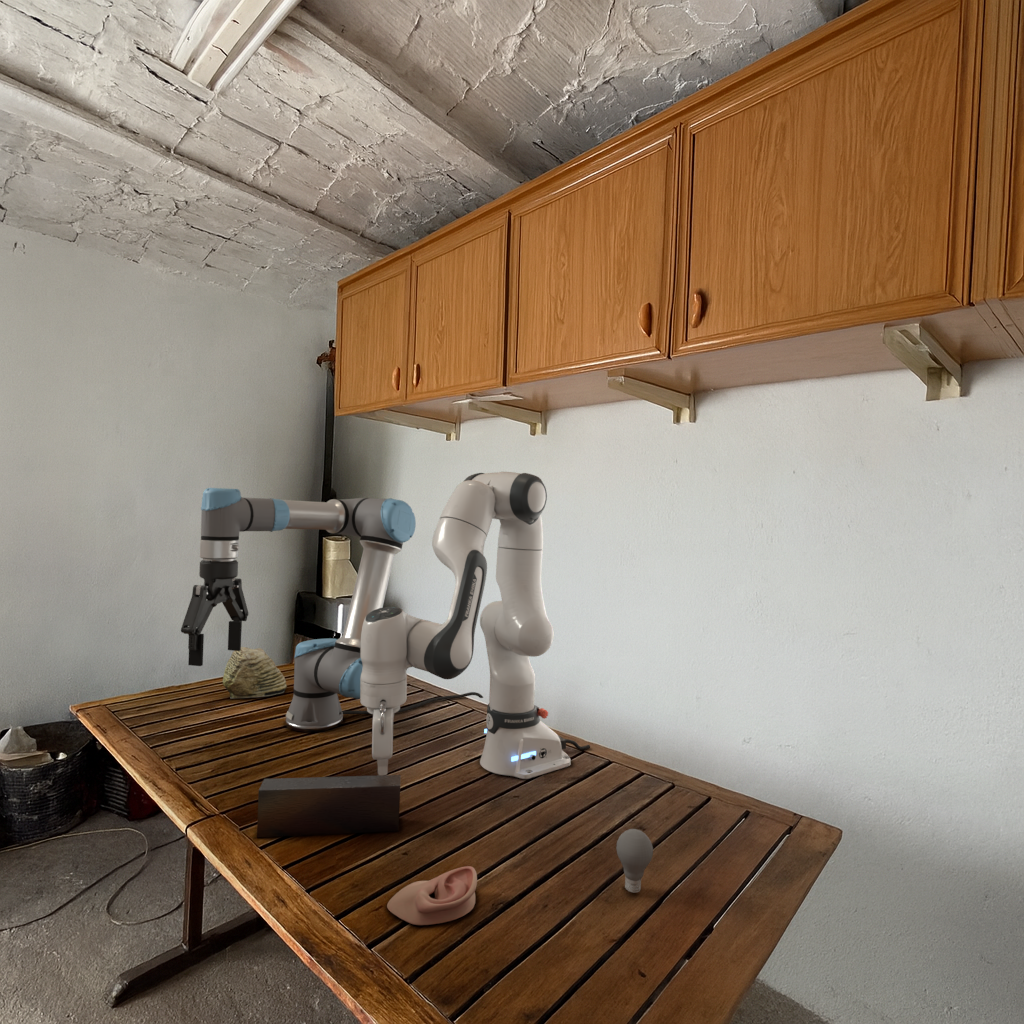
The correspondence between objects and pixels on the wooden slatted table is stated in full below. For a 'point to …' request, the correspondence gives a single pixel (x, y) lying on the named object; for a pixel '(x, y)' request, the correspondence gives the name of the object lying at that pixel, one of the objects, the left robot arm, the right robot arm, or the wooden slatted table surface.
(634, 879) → the light bulb
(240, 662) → the fossil
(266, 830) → the bar
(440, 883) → the anatomical model
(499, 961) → the wooden slatted table surface
